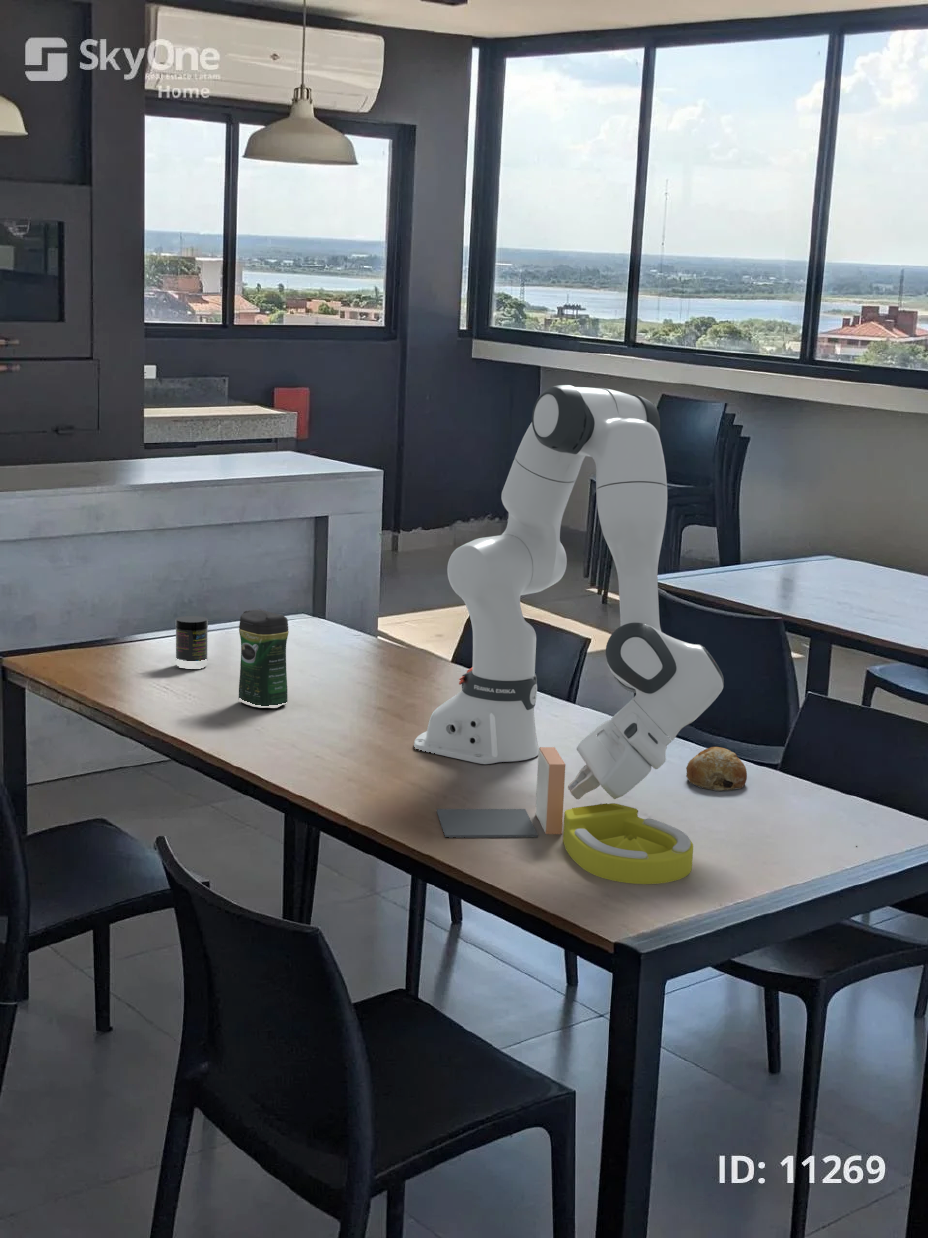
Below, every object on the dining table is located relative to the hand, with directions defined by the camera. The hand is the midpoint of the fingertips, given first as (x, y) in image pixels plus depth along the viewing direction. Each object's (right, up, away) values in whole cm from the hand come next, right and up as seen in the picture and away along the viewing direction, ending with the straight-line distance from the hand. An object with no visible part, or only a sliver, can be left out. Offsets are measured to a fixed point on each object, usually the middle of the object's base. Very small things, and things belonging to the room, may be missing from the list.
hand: (572, 794), depth 235 cm
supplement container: (-75, +16, +91) cm, 119 cm away
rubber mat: (-13, -5, -1) cm, 14 cm away
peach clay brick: (-4, -5, 0) cm, 6 cm away
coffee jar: (-56, +10, +63) cm, 85 cm away
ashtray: (+7, -8, -13) cm, 17 cm away
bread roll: (+26, -1, +25) cm, 36 cm away
